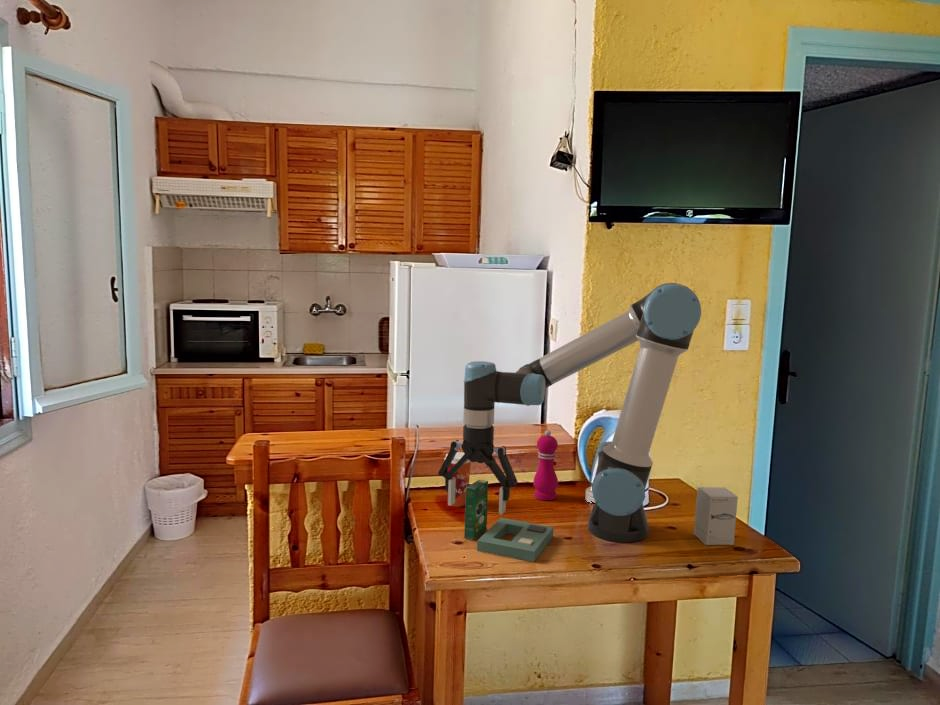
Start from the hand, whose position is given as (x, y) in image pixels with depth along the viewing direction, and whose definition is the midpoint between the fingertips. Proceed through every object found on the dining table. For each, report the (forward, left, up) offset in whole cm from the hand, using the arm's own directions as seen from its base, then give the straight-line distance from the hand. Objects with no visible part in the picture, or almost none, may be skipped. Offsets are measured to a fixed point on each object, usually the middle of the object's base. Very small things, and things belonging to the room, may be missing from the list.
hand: (476, 508), depth 166 cm
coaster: (-24, -38, -7) cm, 46 cm away
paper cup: (+13, -18, -7) cm, 23 cm away
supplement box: (-55, -23, -7) cm, 60 cm away
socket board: (-11, +1, -7) cm, 13 cm away
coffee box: (0, 0, -7) cm, 7 cm away
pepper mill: (-8, -34, -7) cm, 36 cm away
